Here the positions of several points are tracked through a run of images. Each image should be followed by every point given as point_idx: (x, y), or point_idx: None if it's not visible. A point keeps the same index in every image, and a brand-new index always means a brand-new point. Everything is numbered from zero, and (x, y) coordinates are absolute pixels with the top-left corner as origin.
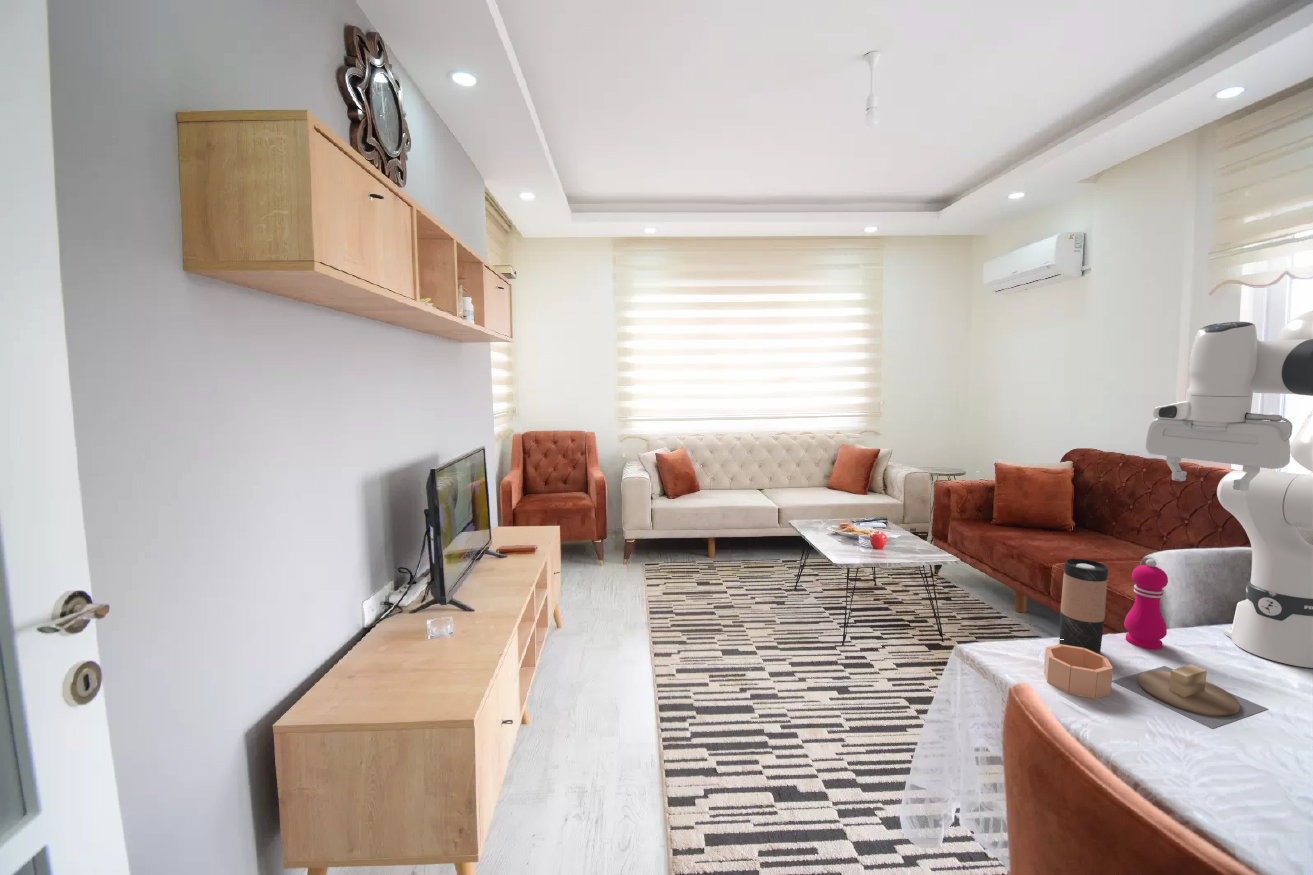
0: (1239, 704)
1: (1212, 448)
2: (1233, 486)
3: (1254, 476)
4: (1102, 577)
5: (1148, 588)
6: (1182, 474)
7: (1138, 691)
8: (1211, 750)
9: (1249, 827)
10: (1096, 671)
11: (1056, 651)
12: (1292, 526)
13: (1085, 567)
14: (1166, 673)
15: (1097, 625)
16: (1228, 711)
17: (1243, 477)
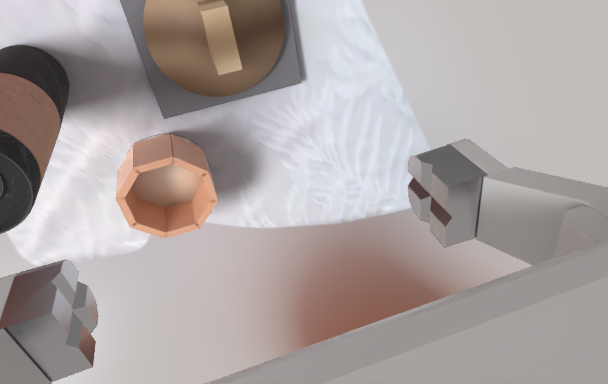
0: None
1: None
2: (422, 217)
3: (561, 185)
4: (35, 168)
5: None
6: (83, 333)
7: (200, 102)
8: (326, 115)
9: (409, 181)
10: (216, 201)
11: (130, 206)
12: None
13: None
14: (154, 7)
15: (60, 111)
16: (282, 26)
17: (514, 250)
